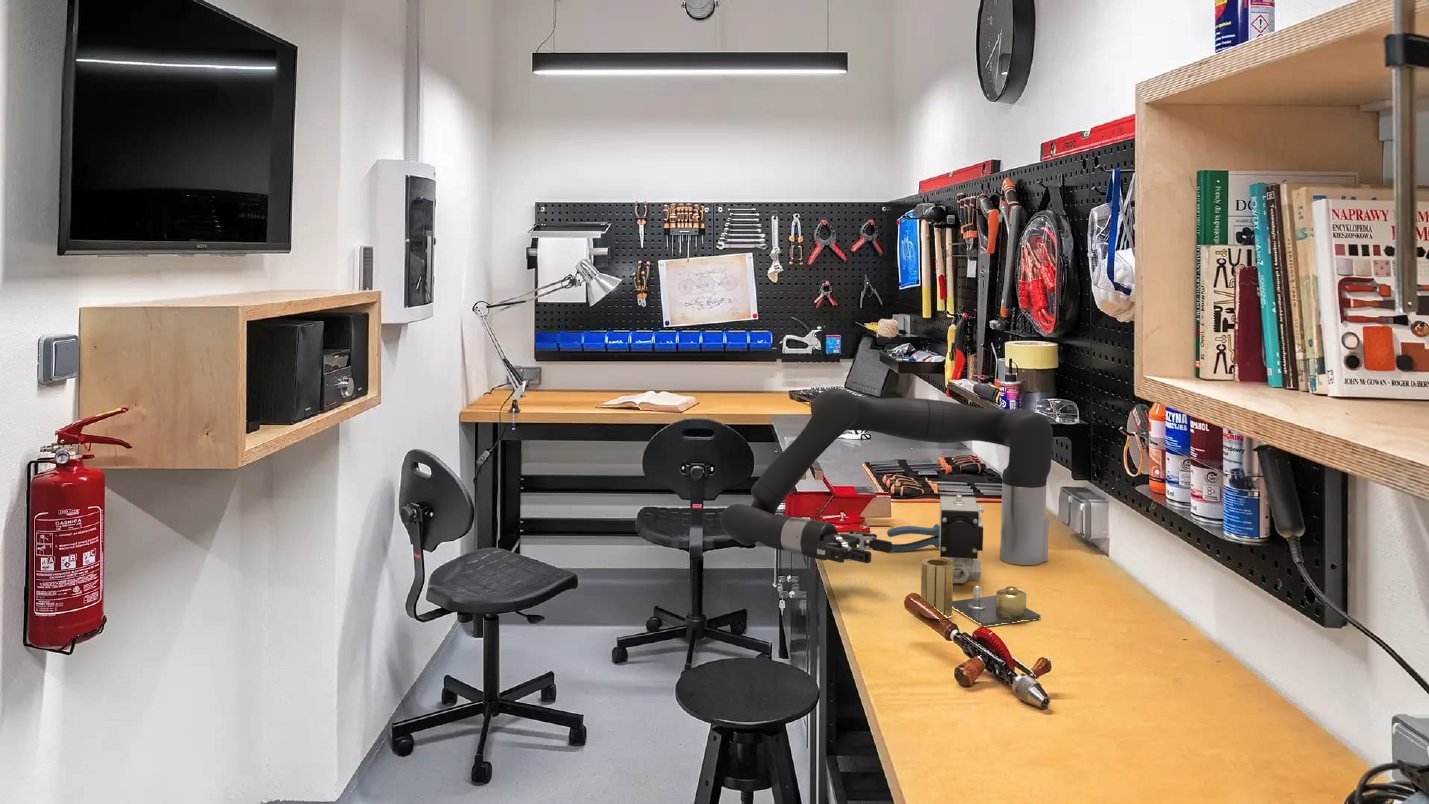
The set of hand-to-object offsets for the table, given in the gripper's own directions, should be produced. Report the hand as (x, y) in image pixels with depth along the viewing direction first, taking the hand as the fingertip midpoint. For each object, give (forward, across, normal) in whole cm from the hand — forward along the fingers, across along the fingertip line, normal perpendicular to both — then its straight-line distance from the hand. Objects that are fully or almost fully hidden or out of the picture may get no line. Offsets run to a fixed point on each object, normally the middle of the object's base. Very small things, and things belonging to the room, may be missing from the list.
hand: (881, 552), depth 180 cm
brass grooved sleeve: (+12, 0, +10) cm, 15 cm away
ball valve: (+7, +22, +10) cm, 25 cm away
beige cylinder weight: (+23, +6, +10) cm, 26 cm away
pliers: (-8, +39, +10) cm, 41 cm away
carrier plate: (+20, +8, +10) cm, 23 cm away
